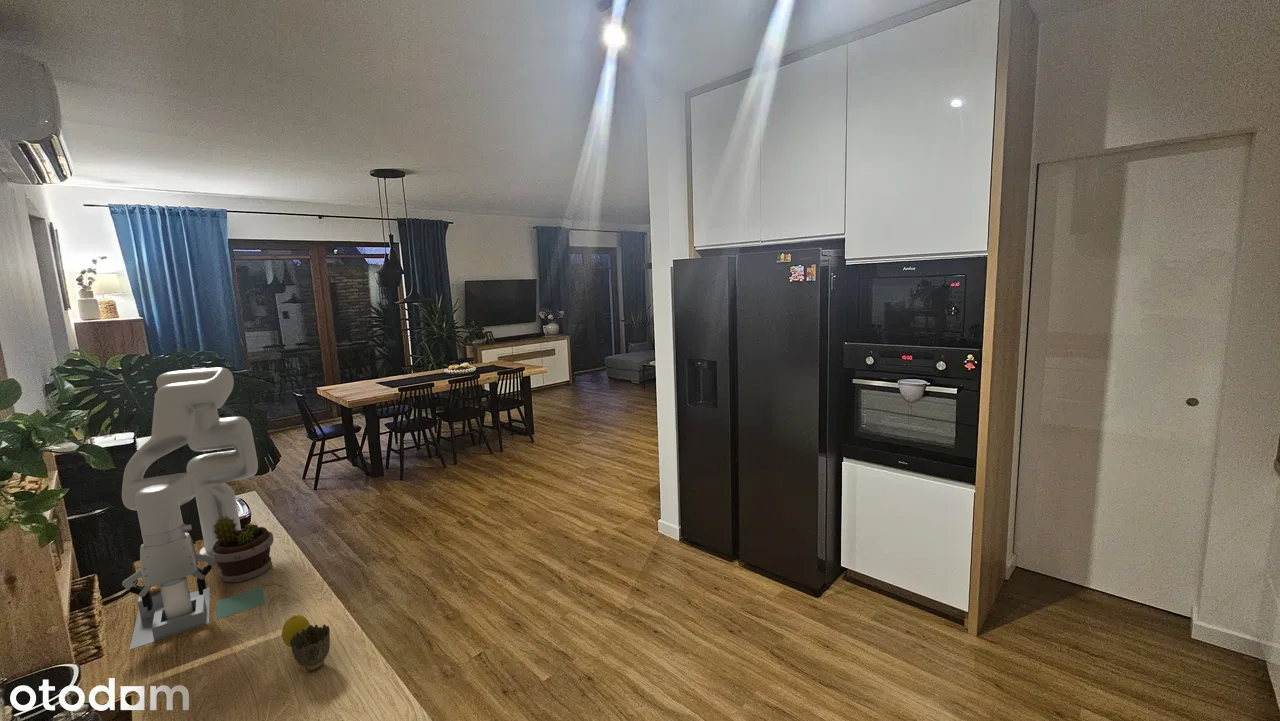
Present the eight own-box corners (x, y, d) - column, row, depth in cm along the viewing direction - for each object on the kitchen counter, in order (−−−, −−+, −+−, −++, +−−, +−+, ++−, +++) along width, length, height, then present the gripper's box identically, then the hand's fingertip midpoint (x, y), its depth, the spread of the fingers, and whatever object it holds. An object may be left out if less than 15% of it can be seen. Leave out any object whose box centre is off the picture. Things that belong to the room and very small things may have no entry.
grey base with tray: (139, 612, 140) (135, 591, 139) (210, 590, 149) (206, 570, 148) (130, 653, 124) (125, 630, 123) (209, 626, 133) (205, 604, 132)
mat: (217, 604, 142) (216, 600, 142) (263, 589, 148) (262, 586, 148) (217, 623, 134) (216, 619, 134) (265, 606, 140) (265, 603, 140)
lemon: (283, 658, 121) (278, 626, 119) (286, 644, 126) (281, 613, 124) (311, 650, 123) (307, 618, 122) (313, 636, 128) (308, 605, 127)
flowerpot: (283, 557, 165) (274, 495, 162) (269, 583, 151) (258, 517, 148) (227, 567, 160) (216, 504, 157) (206, 595, 146) (194, 527, 143)
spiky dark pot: (341, 655, 121) (337, 624, 120) (319, 680, 114) (314, 647, 113) (310, 654, 122) (306, 622, 121) (286, 679, 115) (281, 645, 113)
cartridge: (168, 620, 134) (159, 576, 132) (194, 612, 137) (186, 569, 135) (167, 630, 130) (158, 585, 128) (193, 622, 133) (185, 577, 131)
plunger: (146, 605, 139) (142, 582, 138) (169, 598, 142) (164, 576, 141) (145, 613, 136) (140, 590, 135) (167, 606, 138) (163, 583, 137)
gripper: (209, 519, 138) (220, 580, 141) (117, 541, 127) (130, 607, 130) (209, 529, 132) (220, 593, 135) (112, 553, 122) (126, 622, 124)
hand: (176, 600), depth 132 cm, fingers open, 9 cm apart
